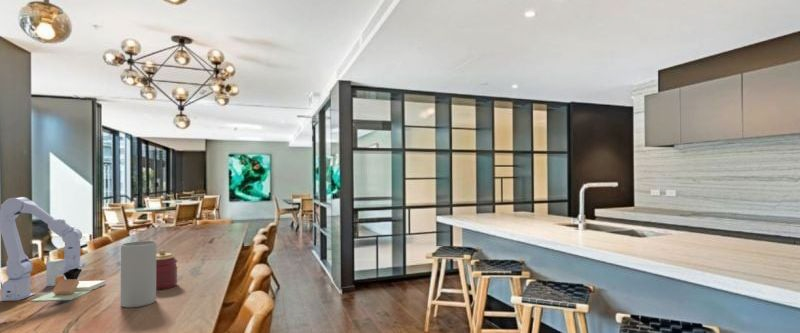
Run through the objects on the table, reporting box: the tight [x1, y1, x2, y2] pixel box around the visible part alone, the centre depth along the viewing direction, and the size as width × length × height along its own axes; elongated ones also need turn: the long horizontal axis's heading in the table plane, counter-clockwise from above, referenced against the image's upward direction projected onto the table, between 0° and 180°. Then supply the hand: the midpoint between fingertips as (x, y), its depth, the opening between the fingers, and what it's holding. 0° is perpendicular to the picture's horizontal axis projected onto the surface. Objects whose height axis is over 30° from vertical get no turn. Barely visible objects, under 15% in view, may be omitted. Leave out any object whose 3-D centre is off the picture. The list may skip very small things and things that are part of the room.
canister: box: [156, 249, 179, 291], centre depth 195 cm, size 13×13×18 cm
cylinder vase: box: [119, 240, 157, 309], centre depth 169 cm, size 12×12×25 cm
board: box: [75, 280, 106, 292], centre depth 193 cm, size 12×14×2 cm
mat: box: [30, 290, 92, 302], centre depth 180 cm, size 13×16×1 cm
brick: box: [51, 278, 79, 295], centre depth 182 cm, size 6×7×3 cm
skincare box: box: [45, 258, 65, 287], centre depth 200 cm, size 6×4×12 cm
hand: (72, 285), depth 186 cm, fingers closed
